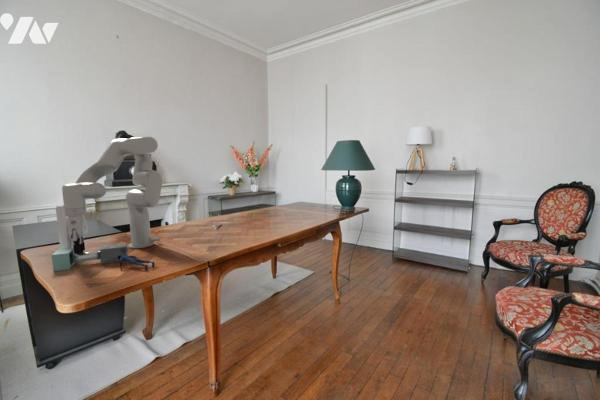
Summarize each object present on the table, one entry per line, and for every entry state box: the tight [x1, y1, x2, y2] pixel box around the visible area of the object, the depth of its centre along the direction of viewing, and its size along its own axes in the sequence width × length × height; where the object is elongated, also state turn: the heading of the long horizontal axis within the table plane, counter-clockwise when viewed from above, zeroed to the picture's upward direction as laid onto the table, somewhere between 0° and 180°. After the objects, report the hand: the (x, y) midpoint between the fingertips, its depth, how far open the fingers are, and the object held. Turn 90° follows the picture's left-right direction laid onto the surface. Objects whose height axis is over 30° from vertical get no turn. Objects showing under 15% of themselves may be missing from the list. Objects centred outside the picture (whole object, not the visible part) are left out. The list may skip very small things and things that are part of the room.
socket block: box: [51, 248, 75, 272], centre depth 123 cm, size 6×9×7 cm, turn 27°
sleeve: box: [99, 242, 129, 265], centre depth 131 cm, size 10×7×7 cm
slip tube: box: [69, 240, 101, 263], centre depth 126 cm, size 17×4×10 cm, turn 117°
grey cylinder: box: [55, 204, 75, 254], centre depth 139 cm, size 6×6×25 cm
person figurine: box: [118, 255, 155, 272], centre depth 123 cm, size 11×4×18 cm
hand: (79, 251), depth 125 cm, fingers closed on slip tube, 2 cm apart
